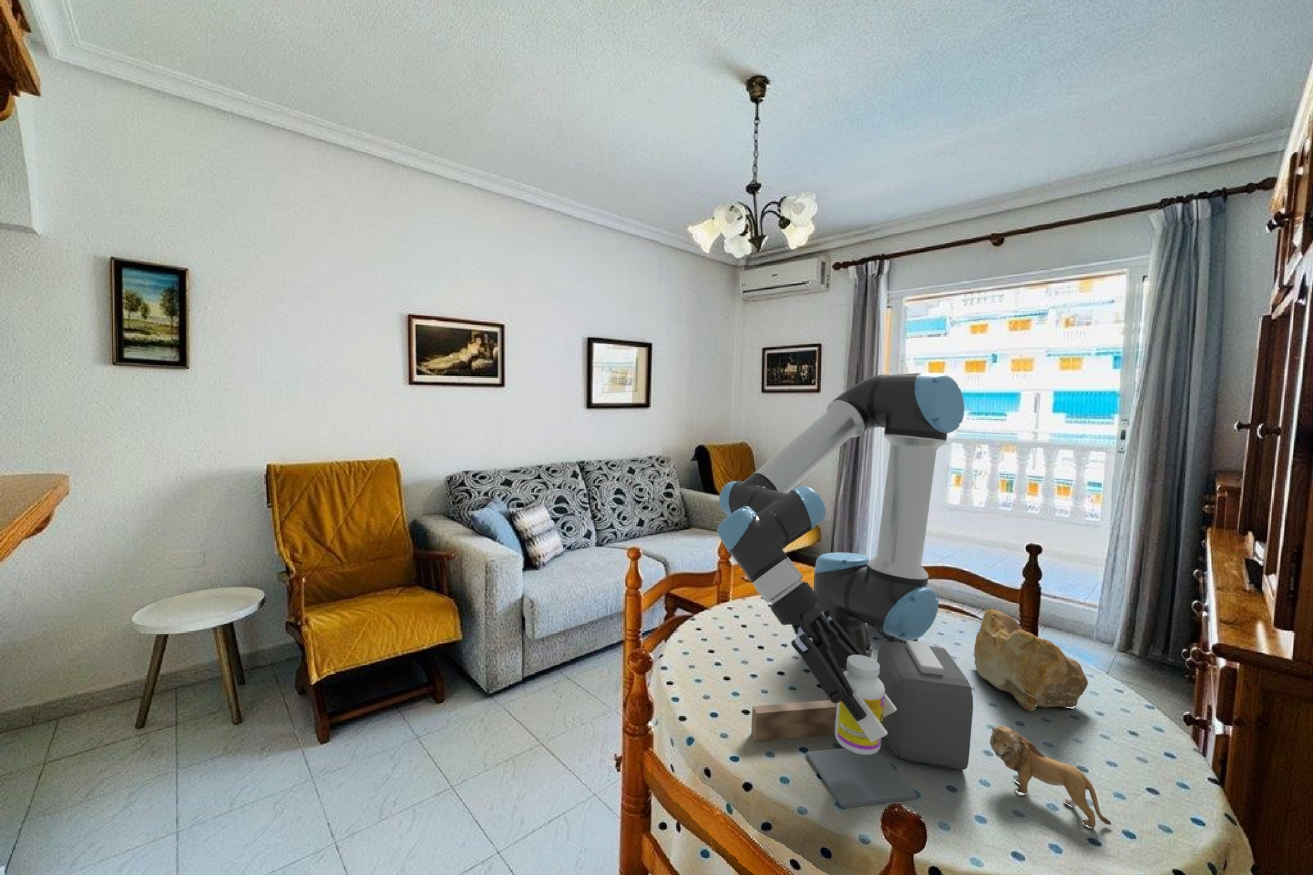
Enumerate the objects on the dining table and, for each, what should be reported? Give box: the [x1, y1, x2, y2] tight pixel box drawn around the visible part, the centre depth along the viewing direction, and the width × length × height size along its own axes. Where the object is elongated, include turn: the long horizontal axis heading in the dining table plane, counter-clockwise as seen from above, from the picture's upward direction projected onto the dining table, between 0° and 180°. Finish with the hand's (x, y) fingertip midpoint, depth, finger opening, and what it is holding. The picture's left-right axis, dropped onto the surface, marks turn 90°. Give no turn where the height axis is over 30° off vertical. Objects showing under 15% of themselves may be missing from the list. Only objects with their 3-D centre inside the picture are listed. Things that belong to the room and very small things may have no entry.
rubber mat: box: [805, 747, 918, 809], centre depth 80 cm, size 12×11×1 cm
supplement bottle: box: [834, 655, 885, 755], centre depth 79 cm, size 7×7×13 cm
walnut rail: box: [750, 699, 837, 742], centre depth 91 cm, size 20×2×5 cm, turn 101°
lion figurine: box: [989, 725, 1112, 829], centre depth 77 cm, size 15×5×9 cm, turn 52°
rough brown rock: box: [973, 608, 1089, 712], centre depth 105 cm, size 23×17×15 cm
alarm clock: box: [876, 640, 974, 771], centre depth 90 cm, size 16×11×16 cm
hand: (884, 724), depth 78 cm, fingers closed on supplement bottle, 7 cm apart
